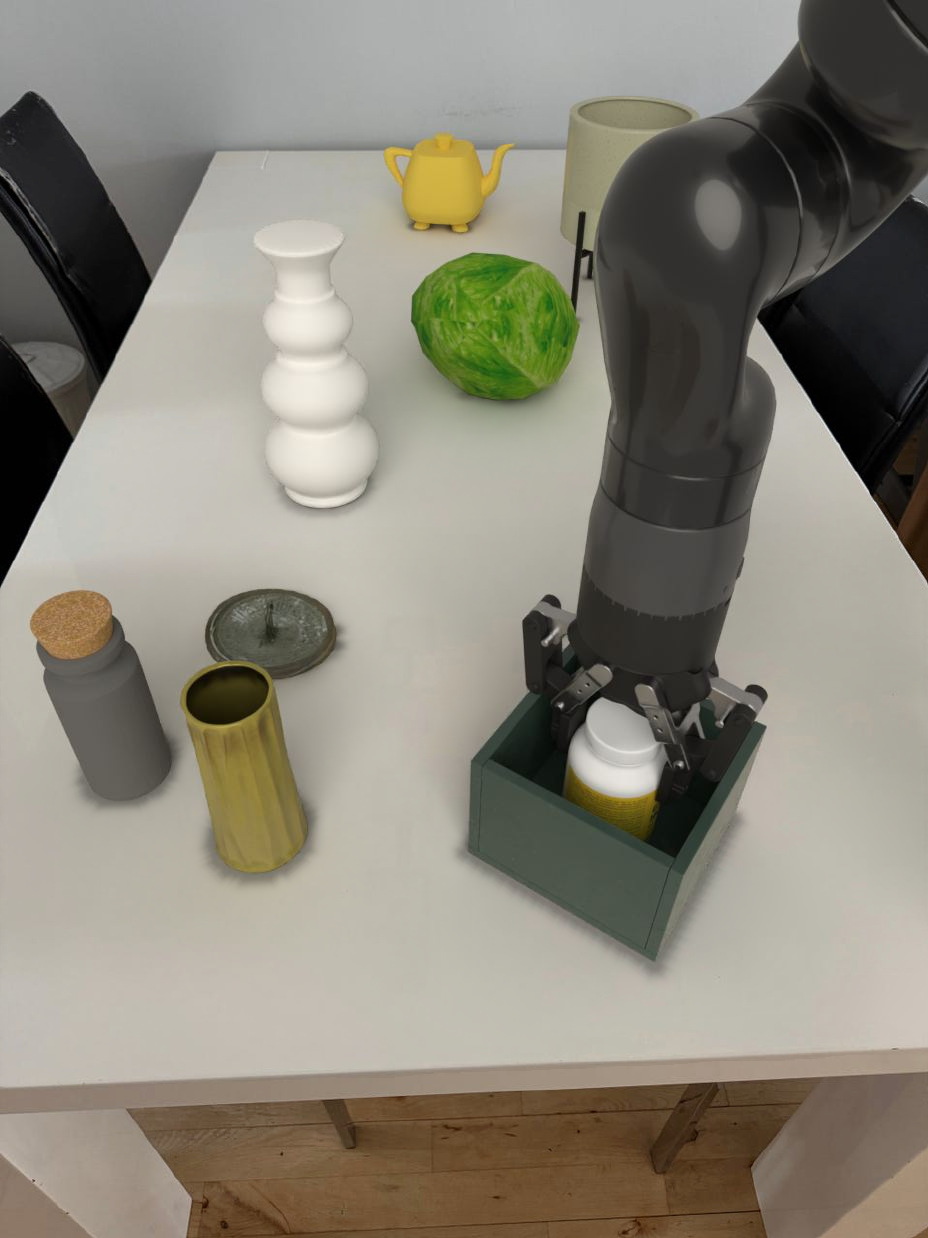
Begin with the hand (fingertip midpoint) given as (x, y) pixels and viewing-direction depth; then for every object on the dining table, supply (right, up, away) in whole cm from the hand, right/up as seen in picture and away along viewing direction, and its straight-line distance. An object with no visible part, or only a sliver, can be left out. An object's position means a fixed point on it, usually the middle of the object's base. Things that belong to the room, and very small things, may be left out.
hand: (617, 768), depth 56 cm
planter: (+11, +52, +66) cm, 85 cm away
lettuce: (-6, +36, +49) cm, 62 cm away
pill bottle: (0, -5, +5) cm, 7 cm away
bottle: (-33, -2, +9) cm, 35 cm away
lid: (-25, +7, +18) cm, 32 cm away
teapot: (-12, +72, +87) cm, 114 cm away
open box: (0, -5, +5) cm, 7 cm away
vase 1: (-23, -5, +5) cm, 24 cm away
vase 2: (-23, +22, +34) cm, 47 cm away
